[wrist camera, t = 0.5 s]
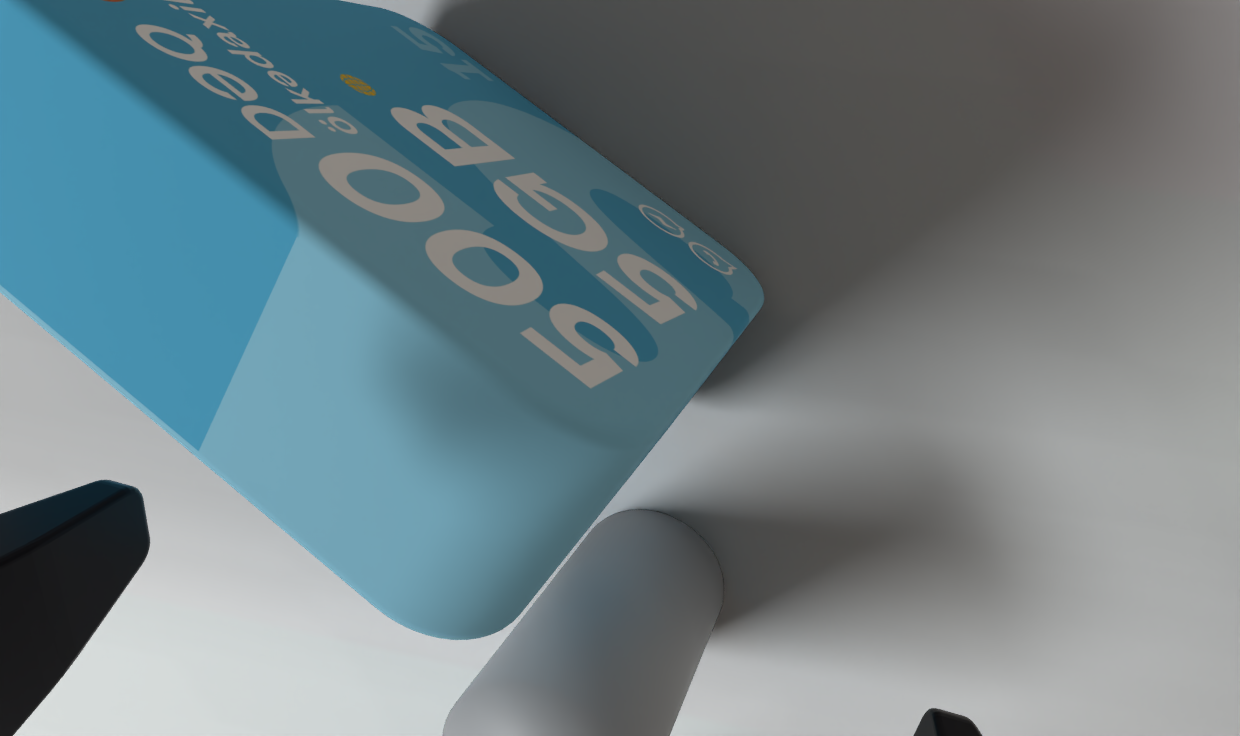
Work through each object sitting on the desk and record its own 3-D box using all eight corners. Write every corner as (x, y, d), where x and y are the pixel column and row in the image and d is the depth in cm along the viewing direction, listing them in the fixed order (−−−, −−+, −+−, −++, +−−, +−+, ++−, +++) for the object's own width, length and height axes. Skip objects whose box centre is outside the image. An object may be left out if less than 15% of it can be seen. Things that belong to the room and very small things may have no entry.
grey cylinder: (713, 663, 25) (626, 892, 18) (574, 622, 26) (438, 819, 19) (734, 530, 23) (649, 720, 16) (585, 493, 25) (444, 654, 17)
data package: (779, 285, 21) (626, 472, 10) (678, 415, 23) (459, 690, 12) (411, 9, 22) (-75, -84, 11) (344, 155, 24) (-129, 194, 13)
